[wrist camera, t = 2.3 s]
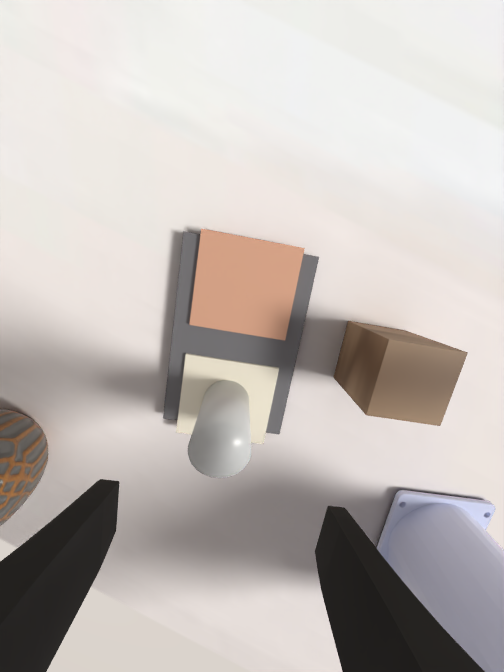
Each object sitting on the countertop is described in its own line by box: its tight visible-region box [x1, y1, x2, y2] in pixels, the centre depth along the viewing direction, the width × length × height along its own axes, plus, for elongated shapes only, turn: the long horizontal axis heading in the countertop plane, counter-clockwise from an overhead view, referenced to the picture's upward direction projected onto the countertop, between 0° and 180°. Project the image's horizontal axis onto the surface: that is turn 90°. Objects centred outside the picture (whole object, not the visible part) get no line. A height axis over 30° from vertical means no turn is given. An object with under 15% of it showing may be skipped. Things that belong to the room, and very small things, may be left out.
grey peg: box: [188, 380, 251, 478], centre depth 15 cm, size 3×3×5 cm
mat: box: [163, 229, 319, 444], centre depth 17 cm, size 13×8×1 cm, turn 170°
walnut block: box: [334, 321, 467, 426], centre depth 15 cm, size 4×4×5 cm
